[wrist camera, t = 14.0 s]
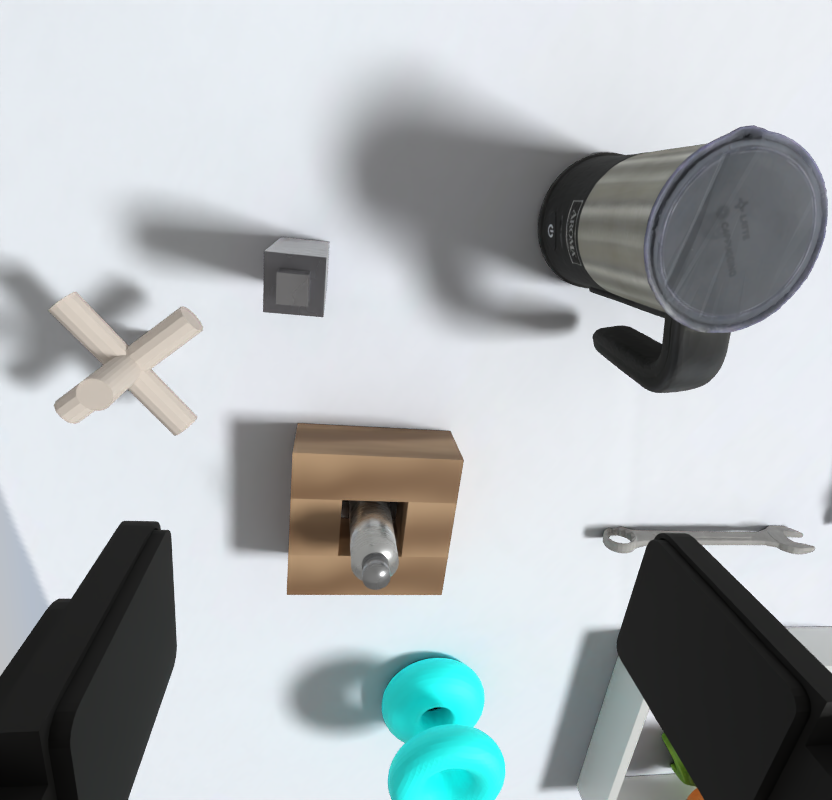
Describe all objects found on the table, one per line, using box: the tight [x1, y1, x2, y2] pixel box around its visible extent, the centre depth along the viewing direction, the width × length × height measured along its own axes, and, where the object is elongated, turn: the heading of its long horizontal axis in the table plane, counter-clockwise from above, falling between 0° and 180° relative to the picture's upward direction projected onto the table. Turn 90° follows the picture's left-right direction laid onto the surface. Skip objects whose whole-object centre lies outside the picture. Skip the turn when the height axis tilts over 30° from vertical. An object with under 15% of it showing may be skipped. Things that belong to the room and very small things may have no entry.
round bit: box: [349, 500, 399, 590], centre depth 39 cm, size 3×3×10 cm
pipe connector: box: [48, 292, 203, 436], centre depth 33 cm, size 10×10×10 cm
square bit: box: [263, 237, 329, 317], centre depth 32 cm, size 3×3×10 cm
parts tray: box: [576, 627, 832, 800], centre depth 57 cm, size 23×24×5 cm
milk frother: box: [538, 125, 828, 393], centre depth 33 cm, size 14×16×15 cm
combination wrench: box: [603, 526, 815, 554], centre depth 49 cm, size 4×1×20 cm
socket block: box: [287, 423, 464, 595], centre depth 42 cm, size 12×12×5 cm
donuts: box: [382, 658, 505, 800], centre depth 49 cm, size 10×10×10 cm
